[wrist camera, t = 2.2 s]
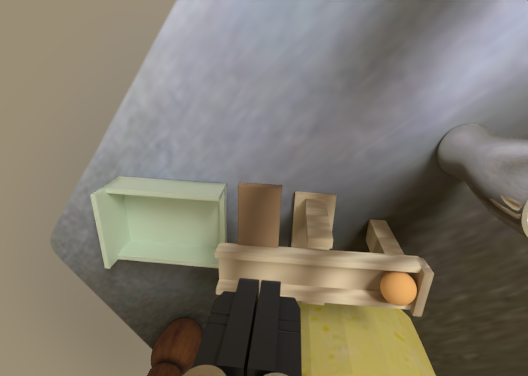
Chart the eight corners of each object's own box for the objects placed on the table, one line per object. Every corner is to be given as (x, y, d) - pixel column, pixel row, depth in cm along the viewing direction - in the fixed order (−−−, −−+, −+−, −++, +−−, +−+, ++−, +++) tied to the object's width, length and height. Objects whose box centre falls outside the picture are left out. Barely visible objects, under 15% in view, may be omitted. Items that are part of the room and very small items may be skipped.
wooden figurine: (189, 305, 47) (145, 406, 34) (214, 329, 49) (181, 435, 35) (159, 323, 50) (106, 425, 36) (183, 345, 51) (141, 451, 37)
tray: (118, 176, 40) (90, 194, 35) (226, 183, 39) (214, 204, 34) (129, 242, 44) (104, 268, 38) (227, 250, 43) (217, 278, 37)
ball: (378, 263, 30) (392, 286, 27) (409, 263, 30) (427, 285, 27) (372, 289, 31) (385, 314, 28) (402, 289, 32) (419, 313, 29)
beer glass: (438, 187, 36) (524, 264, 23) (426, 132, 34) (513, 181, 20) (503, 167, 35) (638, 238, 21) (495, 109, 33) (640, 145, 19)
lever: (434, 194, 28) (452, 210, 25) (408, 291, 33) (421, 316, 30) (218, 181, 29) (210, 195, 26) (221, 277, 34) (214, 300, 31)
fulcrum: (390, 197, 38) (419, 241, 29) (377, 260, 41) (399, 317, 32) (295, 191, 38) (294, 231, 29) (290, 253, 42) (288, 306, 33)
